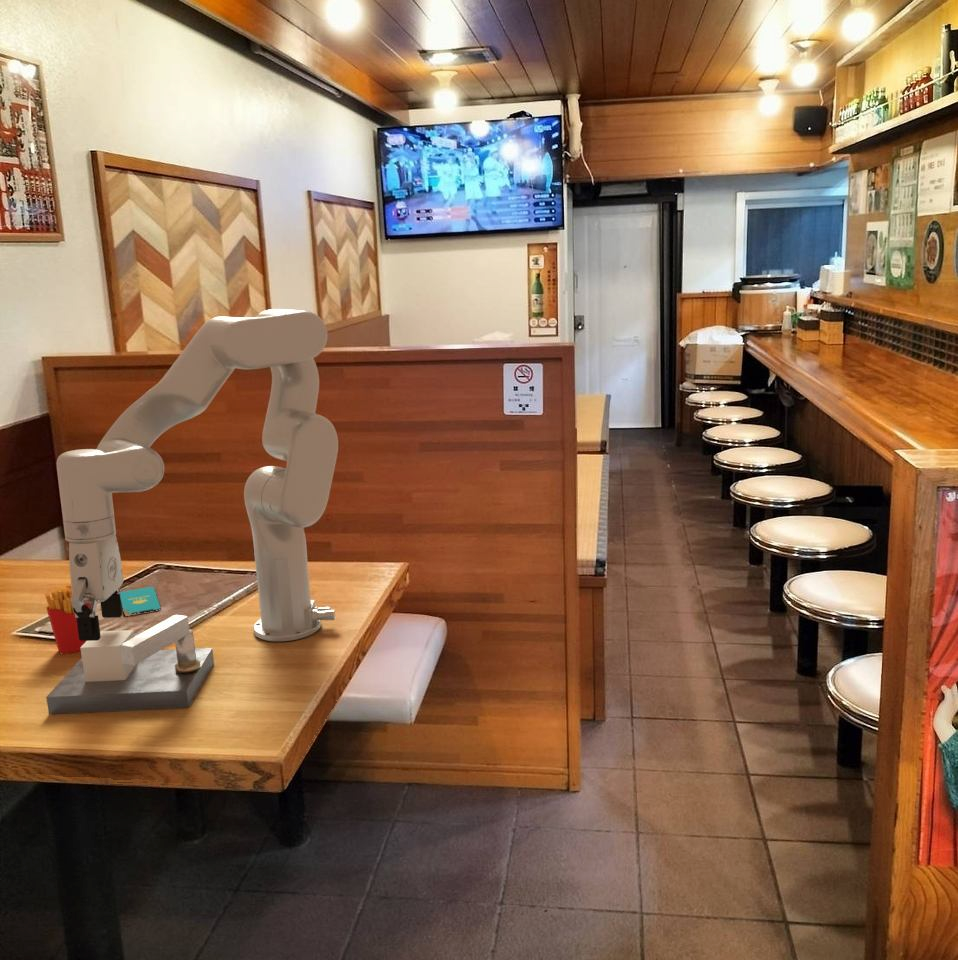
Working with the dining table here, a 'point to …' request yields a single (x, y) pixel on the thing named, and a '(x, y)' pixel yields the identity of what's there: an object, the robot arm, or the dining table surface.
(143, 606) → the smartphone
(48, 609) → the french fries
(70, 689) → the base plate
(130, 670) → the cover cap
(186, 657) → the white bent handle
